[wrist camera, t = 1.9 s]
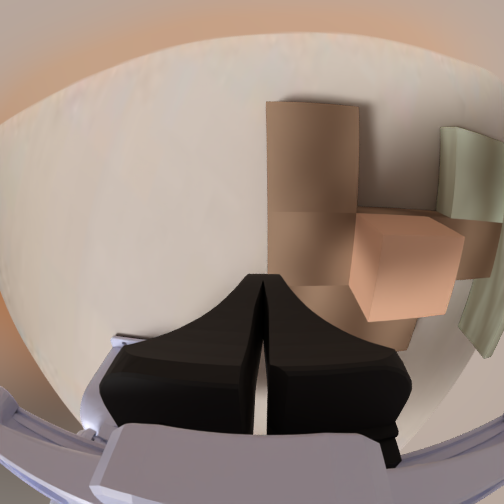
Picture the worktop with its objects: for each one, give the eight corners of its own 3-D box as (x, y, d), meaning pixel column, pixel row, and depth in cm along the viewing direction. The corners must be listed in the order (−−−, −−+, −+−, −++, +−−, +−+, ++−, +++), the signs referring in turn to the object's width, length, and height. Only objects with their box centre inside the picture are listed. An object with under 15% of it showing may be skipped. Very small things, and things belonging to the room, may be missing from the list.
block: (348, 285, 16) (367, 322, 13) (356, 213, 15) (383, 234, 11) (416, 282, 16) (444, 314, 12) (428, 216, 14) (465, 236, 11)
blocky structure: (267, 342, 21) (266, 390, 16) (266, 107, 15) (265, 89, 10) (464, 325, 20) (490, 356, 15) (499, 145, 14) (542, 152, 9)
